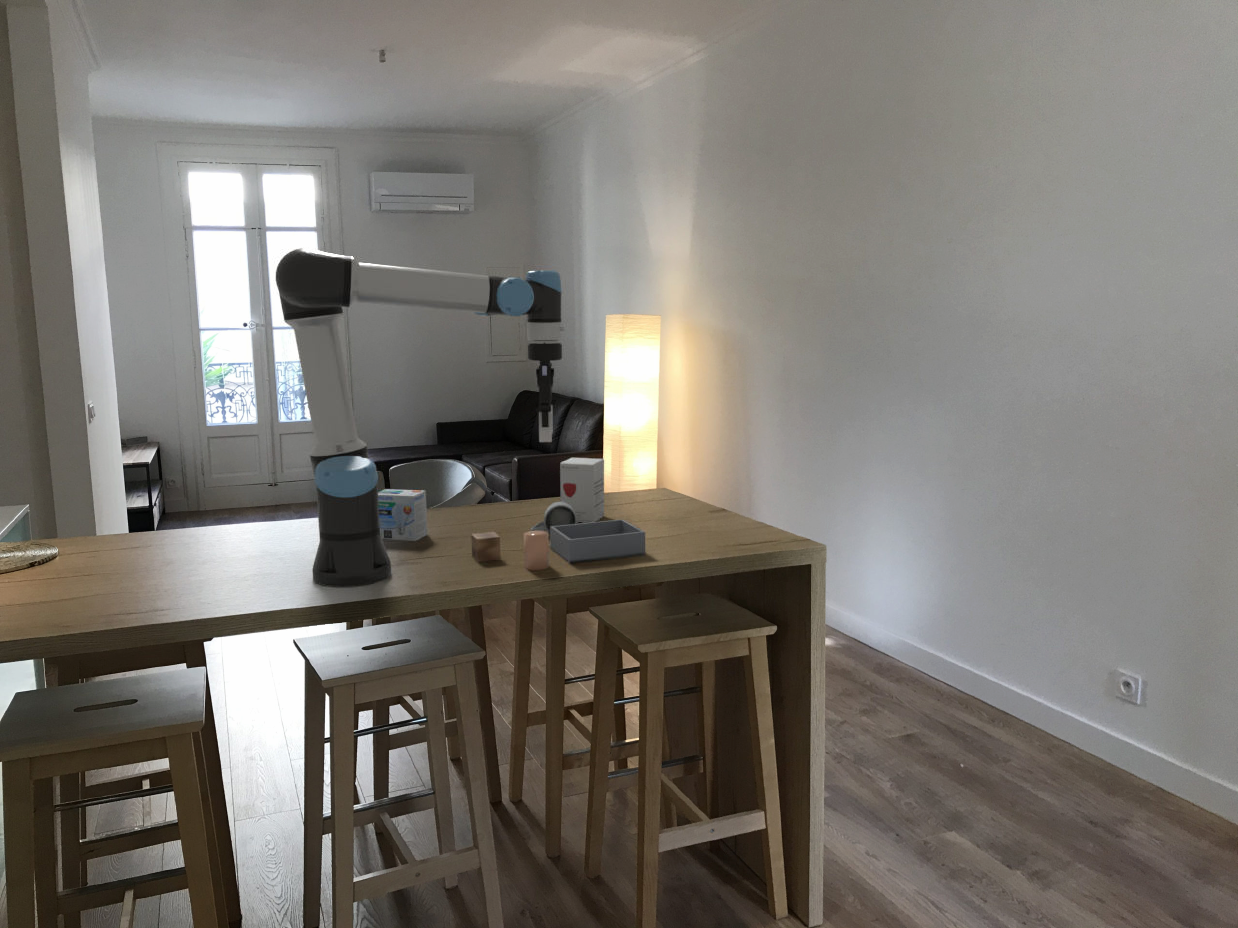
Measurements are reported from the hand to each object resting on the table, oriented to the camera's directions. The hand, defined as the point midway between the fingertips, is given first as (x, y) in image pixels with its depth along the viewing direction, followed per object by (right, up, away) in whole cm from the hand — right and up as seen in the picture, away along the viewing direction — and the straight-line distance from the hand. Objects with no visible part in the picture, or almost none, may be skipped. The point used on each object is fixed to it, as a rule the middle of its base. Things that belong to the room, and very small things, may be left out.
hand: (546, 437), depth 209 cm
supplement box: (+7, -20, +26) cm, 33 cm away
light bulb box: (-35, -23, +9) cm, 43 cm away
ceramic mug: (+1, -23, +11) cm, 25 cm away
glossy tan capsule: (-1, -27, -17) cm, 32 cm away
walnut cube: (-12, -26, -9) cm, 30 cm away
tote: (+12, -25, -6) cm, 28 cm away
